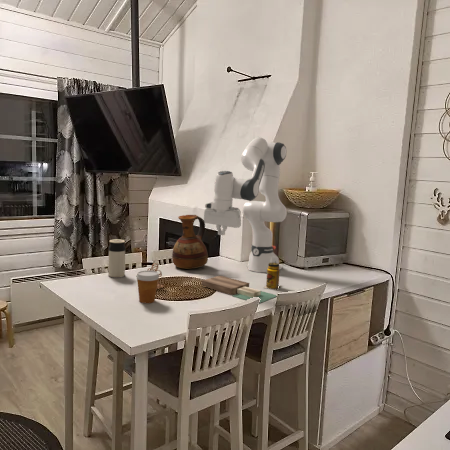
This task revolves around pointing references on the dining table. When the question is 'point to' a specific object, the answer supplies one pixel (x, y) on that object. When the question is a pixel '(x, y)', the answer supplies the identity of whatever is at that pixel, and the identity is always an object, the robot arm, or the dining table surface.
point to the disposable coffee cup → (147, 285)
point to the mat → (263, 296)
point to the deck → (224, 284)
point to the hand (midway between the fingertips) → (221, 234)
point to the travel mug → (116, 258)
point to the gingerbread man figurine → (156, 271)
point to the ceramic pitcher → (190, 245)
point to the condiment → (273, 276)
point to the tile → (248, 291)
